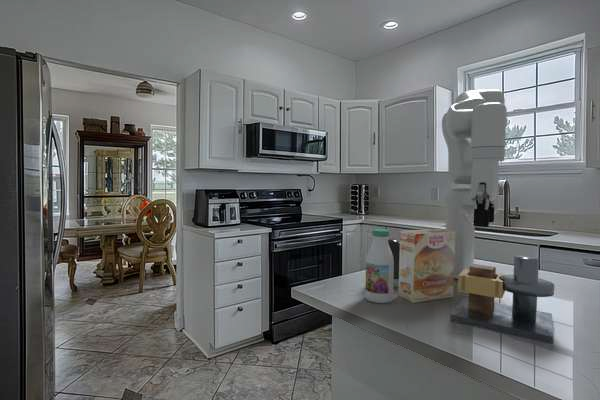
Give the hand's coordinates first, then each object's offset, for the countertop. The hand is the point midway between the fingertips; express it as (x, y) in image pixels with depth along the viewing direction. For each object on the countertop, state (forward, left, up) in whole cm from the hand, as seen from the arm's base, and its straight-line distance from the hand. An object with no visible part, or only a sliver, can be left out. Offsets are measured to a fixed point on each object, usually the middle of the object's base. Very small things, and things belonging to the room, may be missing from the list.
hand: (483, 224), depth 86 cm
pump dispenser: (-27, +10, -23) cm, 37 cm away
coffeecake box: (-15, +6, -23) cm, 29 cm away
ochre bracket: (0, +2, -17) cm, 17 cm away
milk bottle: (-25, -5, -23) cm, 35 cm away
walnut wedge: (0, -1, -22) cm, 22 cm away
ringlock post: (+5, -1, -23) cm, 24 cm away
